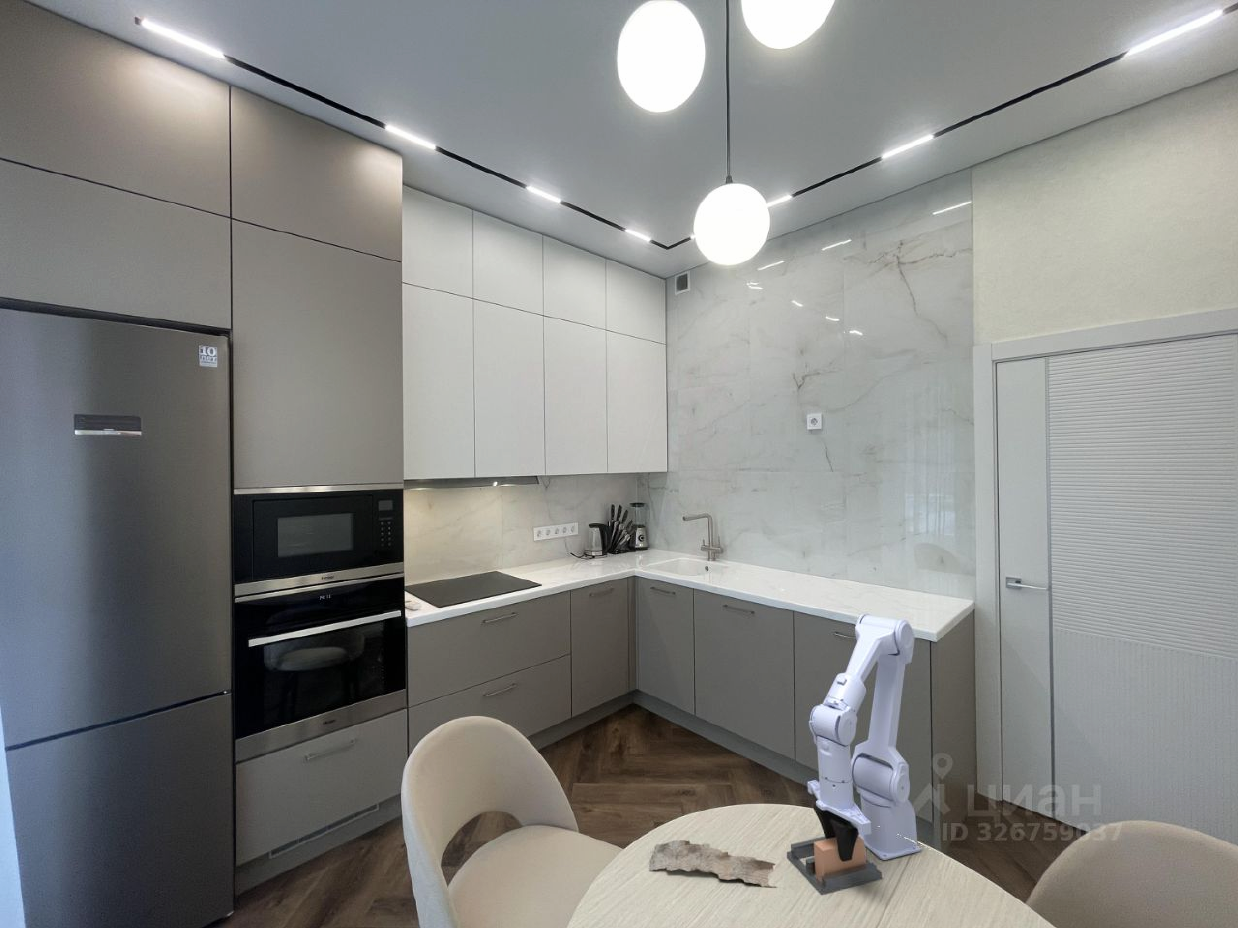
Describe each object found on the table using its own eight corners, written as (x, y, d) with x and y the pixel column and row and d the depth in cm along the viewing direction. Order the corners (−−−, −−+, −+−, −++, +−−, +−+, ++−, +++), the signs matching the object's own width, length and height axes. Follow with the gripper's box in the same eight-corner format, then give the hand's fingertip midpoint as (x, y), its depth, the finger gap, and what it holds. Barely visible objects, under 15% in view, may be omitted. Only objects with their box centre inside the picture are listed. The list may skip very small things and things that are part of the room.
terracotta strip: (856, 867, 93) (854, 832, 93) (866, 876, 90) (864, 840, 91) (815, 877, 90) (813, 841, 91) (825, 887, 88) (822, 850, 88)
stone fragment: (648, 853, 99) (648, 890, 89) (648, 837, 99) (647, 872, 89) (777, 854, 97) (791, 891, 87) (776, 838, 98) (790, 874, 88)
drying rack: (843, 844, 99) (842, 832, 99) (882, 878, 89) (881, 865, 90) (787, 857, 95) (786, 845, 96) (821, 894, 86) (820, 880, 86)
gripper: (792, 760, 98) (796, 833, 96) (844, 799, 84) (850, 886, 83) (823, 755, 100) (827, 827, 98) (878, 792, 86) (884, 877, 85)
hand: (840, 853), depth 91 cm, fingers closed on terracotta strip, 2 cm apart
